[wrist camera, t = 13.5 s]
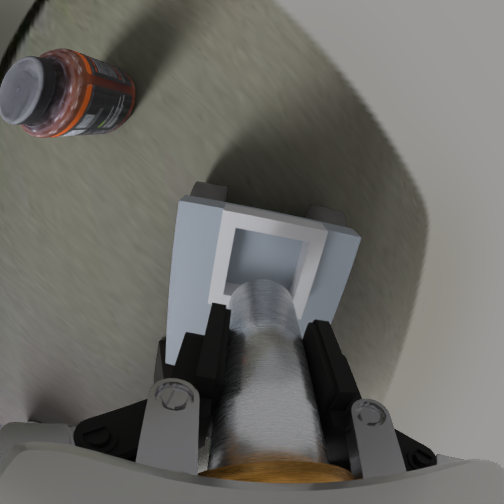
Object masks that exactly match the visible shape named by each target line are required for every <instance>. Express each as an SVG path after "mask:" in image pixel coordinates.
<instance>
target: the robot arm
mask: <svg viewBox="0 0 504 504" xmlns="http://www.w3.org/2000/svg"><path fill="white" fill-rule="evenodd" d="M230 318H231V310H230V309H226V305H223V304H218V303H213V302H212V306H211V310H210V314H209V318H208V323H207V327H206V331H205V335H200V334H195V333H190V332H186V333H185V335H184V338H183V341H182V344H181V347H180V350H179V354H178V357H177V360H176V363H175V366H174V369H173V372H172V376H171V378H167V379H162V380H160V381H158V382H156V383H155V384H154V385H153V386H152V387H151V389H150V391H149V396H148V399H146V400H143V401H140V402H137V403H135V404H132V405H129V406H126V407H123V408H120V409H117V410H114V411H111V412H108V413H105V414H102V415H99V416H95V417H92V418H89V419H86V420H84V421H82V422H81V423H79V424H78V425H77V426H75V427H69V426H68V424H67V423H26V422H9V423H7V424H6V425H4V426H3V427H2V428H1V430H0V504H504V469H503V468H502V467H501V466H500V465H499V464H497V463H495V462H492V461H489V460H480V459H468V460H464V459H459V458H453V457H449V456H444V455H440V454H437V455H436V456H435V454H434V453H433V452H432V451H431V449H429V448H427V447H426V446H424V445H423V444H421V443H419V442H417V441H415V440H413V439H412V438H410V437H408V436H406V435H404V434H403V433H401V432H399V431H398V430H396V429H394V427H393V423H392V420H391V417H390V414H389V412H388V410H387V409H386V408H385V407H384V406H383V405H382V404H381V403H379V402H377V401H375V400H372V399H362V398H361V395H360V393H359V390H358V387H357V385H356V382H355V380H354V377H353V374H352V372H351V369H350V367H349V364H348V362H347V359H346V357H345V356H344V355H343V354H342V353H341V350H340V348H339V345H338V343H337V340H336V338H335V335H334V333H333V330H332V328H331V325H330V323H329V321H323V320H316V319H315V320H314V321H313V322H312V323H311V322H309V323H308V325H307V327H306V330H305V333H304V336H303V339H302V341H303V345H304V349H305V354H306V358H307V362H308V367H309V371H310V376H311V380H312V385H313V389H314V394H315V398H316V403H317V408H318V412H319V417H320V422H321V427H322V431H323V436H324V441H325V446H326V451H327V456H328V461H329V464H330V465H335V466H339V467H341V468H344V469H346V470H348V471H349V472H351V474H352V475H353V476H354V479H355V480H349V481H338V482H322V483H263V482H247V481H235V480H226V479H218V478H210V477H204V476H198V449H199V448H201V447H202V446H204V445H205V439H206V436H208V437H211V436H212V428H213V419H214V413H215V410H216V408H217V406H218V404H219V400H220V395H221V390H222V385H223V379H224V371H225V362H226V353H227V344H228V336H229V327H230Z"/></svg>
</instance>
